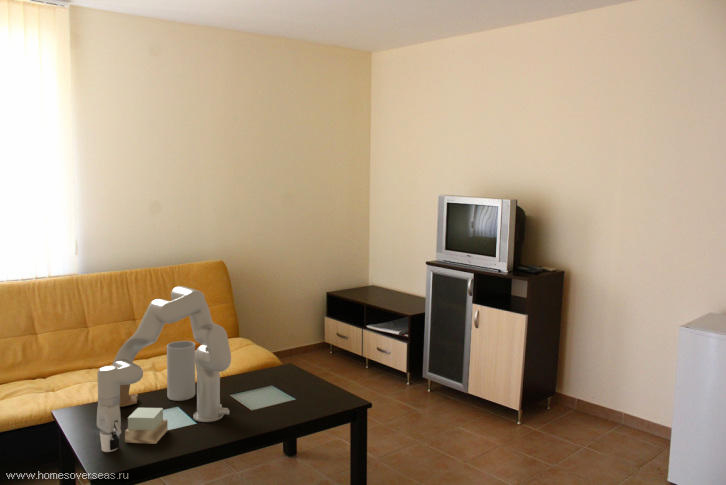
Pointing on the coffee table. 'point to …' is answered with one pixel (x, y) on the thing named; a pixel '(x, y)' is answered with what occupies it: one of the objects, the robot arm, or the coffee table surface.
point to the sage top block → (145, 419)
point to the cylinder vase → (180, 370)
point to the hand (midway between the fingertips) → (109, 445)
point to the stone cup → (127, 396)
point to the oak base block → (146, 434)
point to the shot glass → (106, 441)
